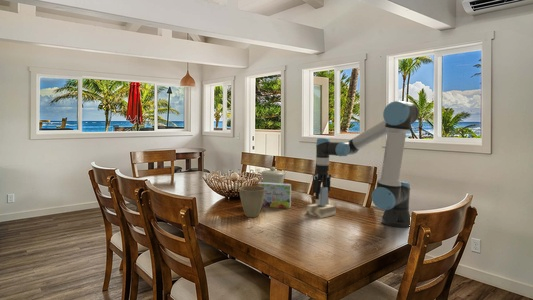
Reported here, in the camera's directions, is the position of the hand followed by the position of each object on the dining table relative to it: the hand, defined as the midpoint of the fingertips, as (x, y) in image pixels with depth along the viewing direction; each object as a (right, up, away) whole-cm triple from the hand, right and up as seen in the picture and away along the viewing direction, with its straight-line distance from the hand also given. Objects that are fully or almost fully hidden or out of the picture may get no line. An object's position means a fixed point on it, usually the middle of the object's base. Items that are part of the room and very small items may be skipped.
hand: (321, 203), depth 201 cm
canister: (-28, -2, +50) cm, 57 cm away
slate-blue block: (0, 0, 0) cm, 0 cm away
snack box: (-27, -5, +17) cm, 33 cm away
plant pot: (-41, -6, -5) cm, 41 cm away
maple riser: (0, -6, 0) cm, 6 cm away
